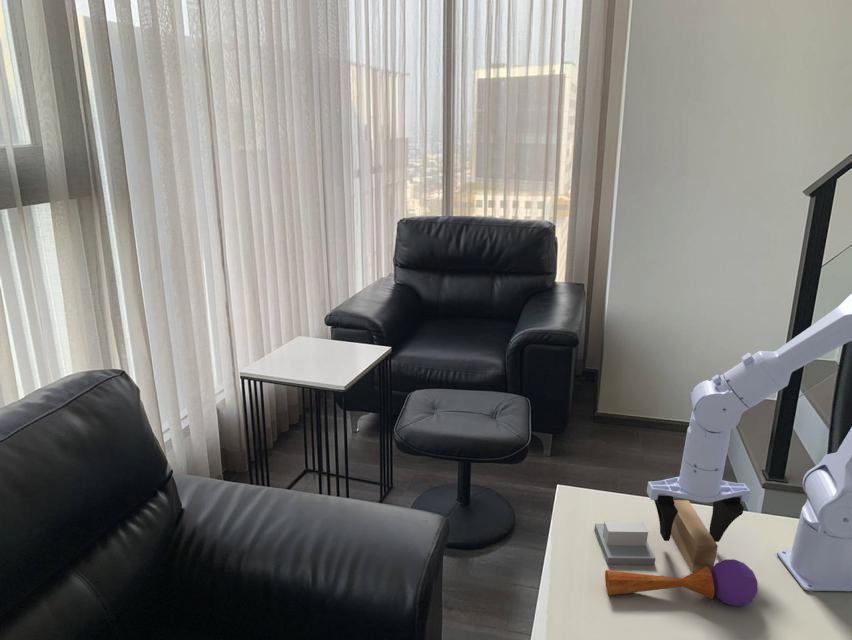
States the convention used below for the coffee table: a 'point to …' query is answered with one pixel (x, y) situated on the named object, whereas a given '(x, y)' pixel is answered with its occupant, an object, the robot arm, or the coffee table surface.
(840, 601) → the coffee table surface
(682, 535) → the oak bar
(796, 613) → the coffee table surface
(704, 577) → the kendama
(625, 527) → the balance stand
